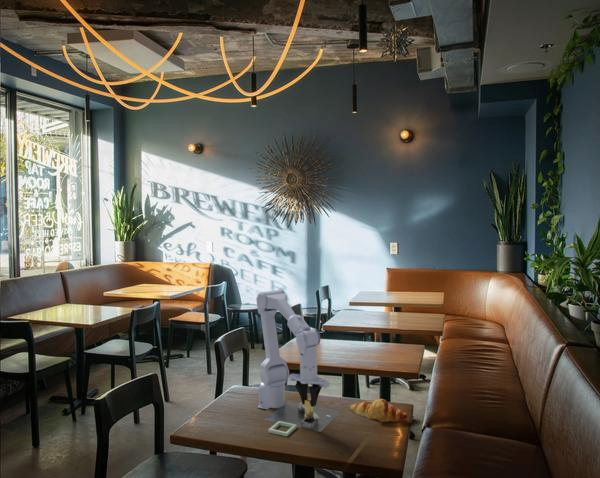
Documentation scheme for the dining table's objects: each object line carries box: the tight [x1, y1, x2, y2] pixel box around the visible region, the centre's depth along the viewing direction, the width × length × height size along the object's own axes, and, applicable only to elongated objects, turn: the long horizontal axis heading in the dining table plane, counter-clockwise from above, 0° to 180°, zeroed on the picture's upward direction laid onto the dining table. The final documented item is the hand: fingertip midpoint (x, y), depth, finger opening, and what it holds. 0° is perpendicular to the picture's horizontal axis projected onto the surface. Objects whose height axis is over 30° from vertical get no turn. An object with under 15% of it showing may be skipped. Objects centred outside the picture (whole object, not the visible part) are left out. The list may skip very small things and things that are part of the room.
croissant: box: [350, 398, 408, 423], centre depth 176 cm, size 21×10×8 cm
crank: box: [297, 401, 319, 419], centre depth 174 cm, size 14×3×5 cm, turn 23°
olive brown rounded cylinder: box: [304, 397, 314, 419], centre depth 167 cm, size 3×3×6 cm
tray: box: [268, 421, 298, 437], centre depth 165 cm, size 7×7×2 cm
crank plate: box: [263, 400, 342, 433], centre depth 176 cm, size 22×18×3 cm
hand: (309, 404), depth 168 cm, fingers closed on olive brown rounded cylinder, 3 cm apart
